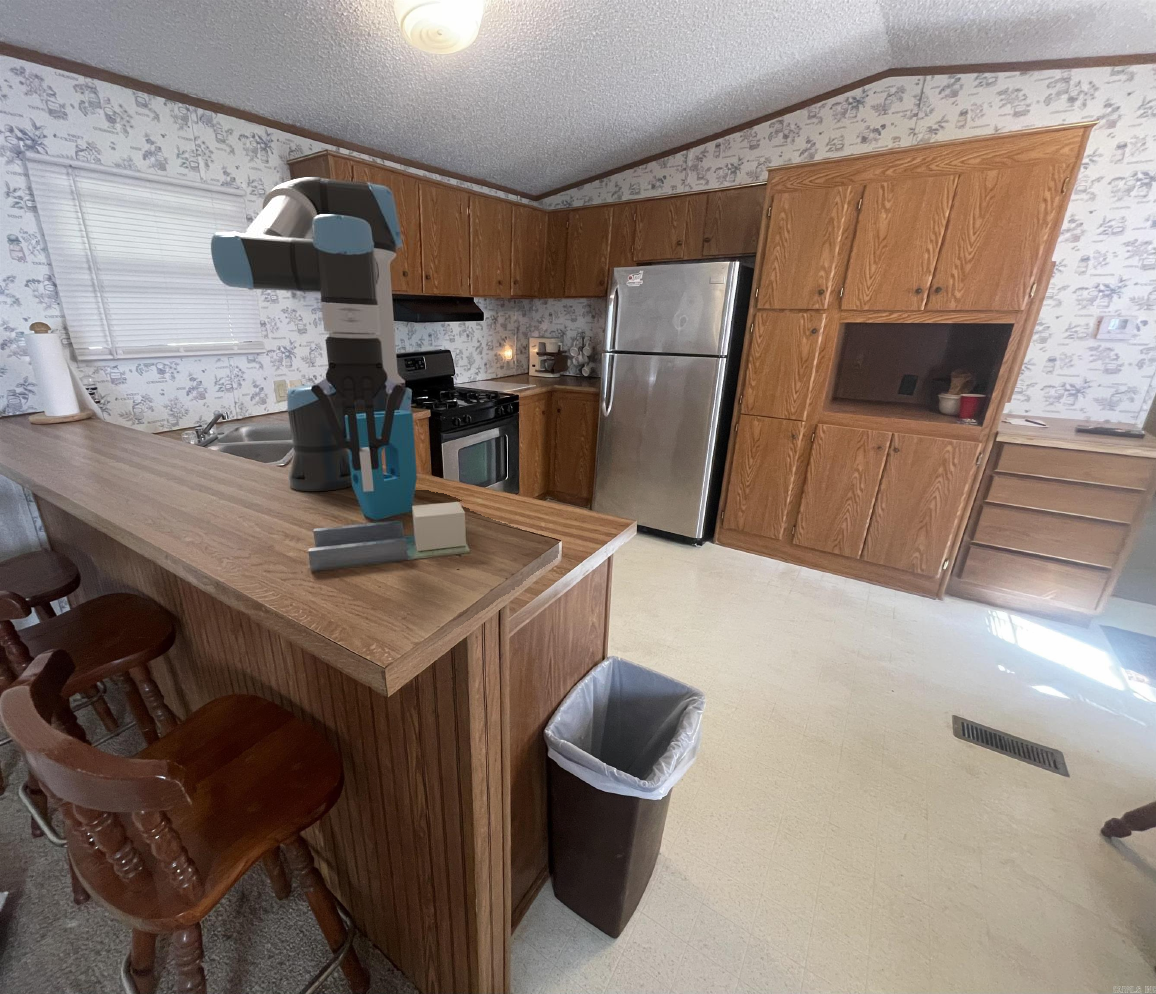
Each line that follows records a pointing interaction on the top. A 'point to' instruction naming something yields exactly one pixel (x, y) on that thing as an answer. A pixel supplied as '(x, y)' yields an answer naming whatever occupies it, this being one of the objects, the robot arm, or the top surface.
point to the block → (387, 467)
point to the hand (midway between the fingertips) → (368, 488)
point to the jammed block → (439, 526)
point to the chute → (368, 546)
